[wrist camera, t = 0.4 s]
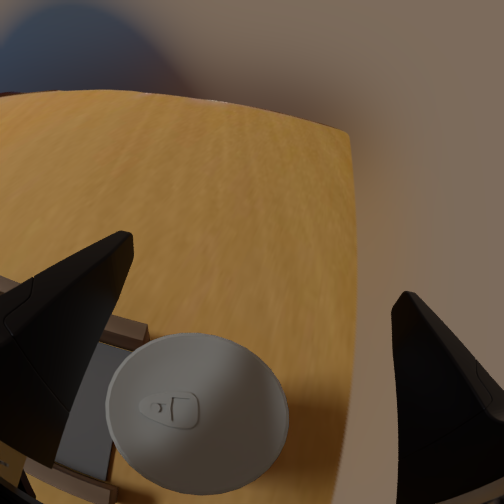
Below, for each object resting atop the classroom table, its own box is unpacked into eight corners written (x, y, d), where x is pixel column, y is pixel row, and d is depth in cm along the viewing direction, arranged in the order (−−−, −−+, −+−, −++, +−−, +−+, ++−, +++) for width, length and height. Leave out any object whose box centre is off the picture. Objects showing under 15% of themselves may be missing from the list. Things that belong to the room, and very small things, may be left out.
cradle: (116, 502, 13) (107, 507, 11) (-50, 412, 11) (-68, 402, 9) (149, 340, 23) (147, 324, 21) (-2, 287, 21) (-14, 269, 19)
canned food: (126, 396, 19) (92, 342, 11) (223, 379, 22) (256, 317, 14) (151, 488, 15) (130, 511, 7) (254, 464, 18) (315, 462, 10)
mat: (106, 480, 14) (105, 481, 14) (-31, 409, 12) (-33, 409, 12) (133, 353, 22) (133, 352, 22) (6, 307, 20) (5, 306, 20)
